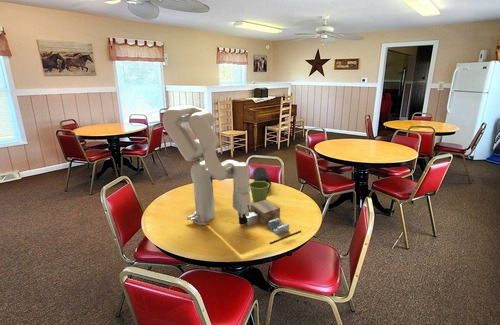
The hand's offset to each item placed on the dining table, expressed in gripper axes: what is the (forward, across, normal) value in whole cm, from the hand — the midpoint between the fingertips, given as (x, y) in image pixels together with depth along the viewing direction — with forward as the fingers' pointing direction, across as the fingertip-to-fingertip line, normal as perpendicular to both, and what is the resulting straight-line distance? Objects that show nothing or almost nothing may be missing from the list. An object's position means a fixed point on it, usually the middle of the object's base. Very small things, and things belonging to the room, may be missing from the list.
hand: (242, 223), depth 140 cm
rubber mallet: (+2, -43, +3) cm, 43 cm away
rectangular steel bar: (+1, 0, +11) cm, 11 cm away
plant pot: (+3, -20, +23) cm, 30 cm away
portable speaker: (+3, -41, +40) cm, 57 cm away
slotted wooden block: (+2, 0, +14) cm, 14 cm away
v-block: (+3, +13, +12) cm, 18 cm away
